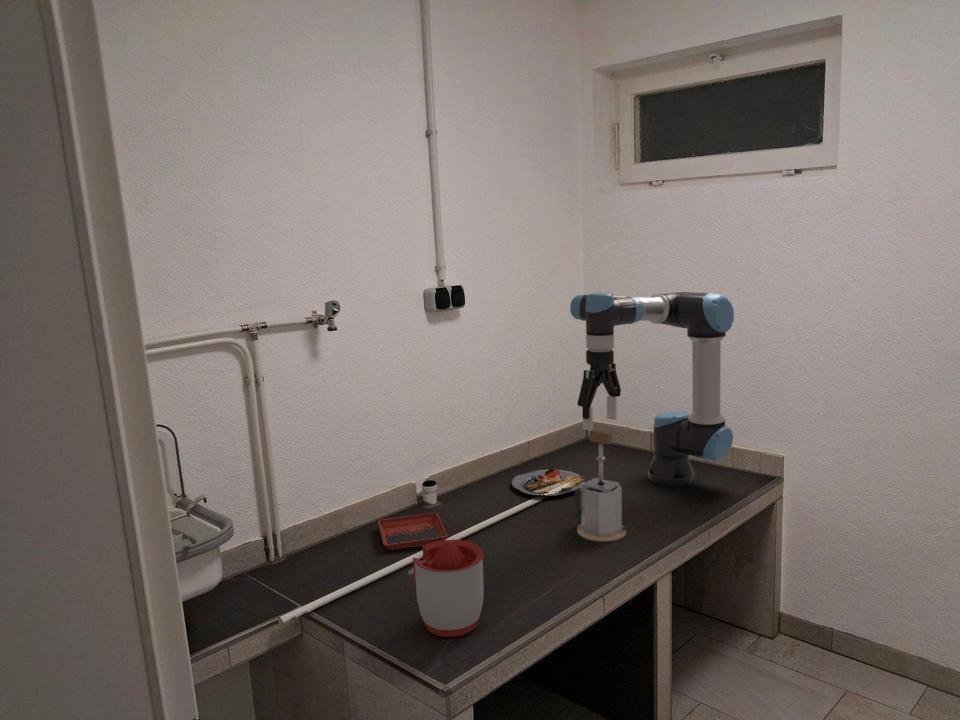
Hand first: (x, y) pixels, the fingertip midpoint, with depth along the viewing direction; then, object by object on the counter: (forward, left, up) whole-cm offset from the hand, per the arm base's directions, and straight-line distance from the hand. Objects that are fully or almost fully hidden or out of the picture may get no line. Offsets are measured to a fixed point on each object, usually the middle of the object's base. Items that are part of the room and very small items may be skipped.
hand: (600, 424), depth 205 cm
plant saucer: (+33, -43, -33) cm, 64 cm away
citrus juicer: (+63, -4, -32) cm, 71 cm away
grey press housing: (0, 0, -32) cm, 32 cm away
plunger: (0, 0, -21) cm, 21 cm away
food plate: (-23, -33, -33) cm, 52 cm away
